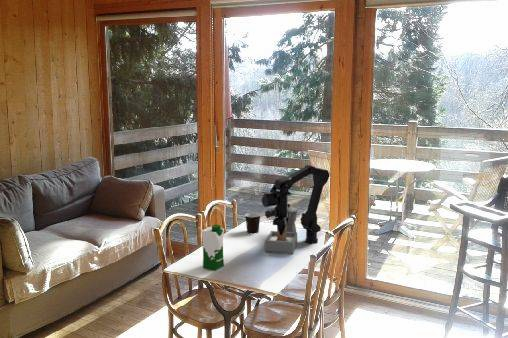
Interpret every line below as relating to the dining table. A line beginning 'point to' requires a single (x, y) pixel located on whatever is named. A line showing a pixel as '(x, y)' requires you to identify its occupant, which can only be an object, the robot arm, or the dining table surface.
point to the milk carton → (213, 247)
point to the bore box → (281, 243)
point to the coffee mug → (252, 222)
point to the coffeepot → (291, 219)
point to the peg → (281, 237)
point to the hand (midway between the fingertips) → (281, 233)
